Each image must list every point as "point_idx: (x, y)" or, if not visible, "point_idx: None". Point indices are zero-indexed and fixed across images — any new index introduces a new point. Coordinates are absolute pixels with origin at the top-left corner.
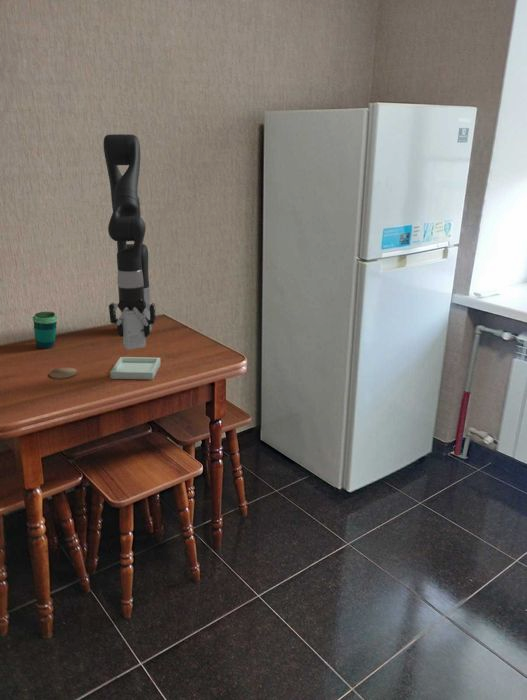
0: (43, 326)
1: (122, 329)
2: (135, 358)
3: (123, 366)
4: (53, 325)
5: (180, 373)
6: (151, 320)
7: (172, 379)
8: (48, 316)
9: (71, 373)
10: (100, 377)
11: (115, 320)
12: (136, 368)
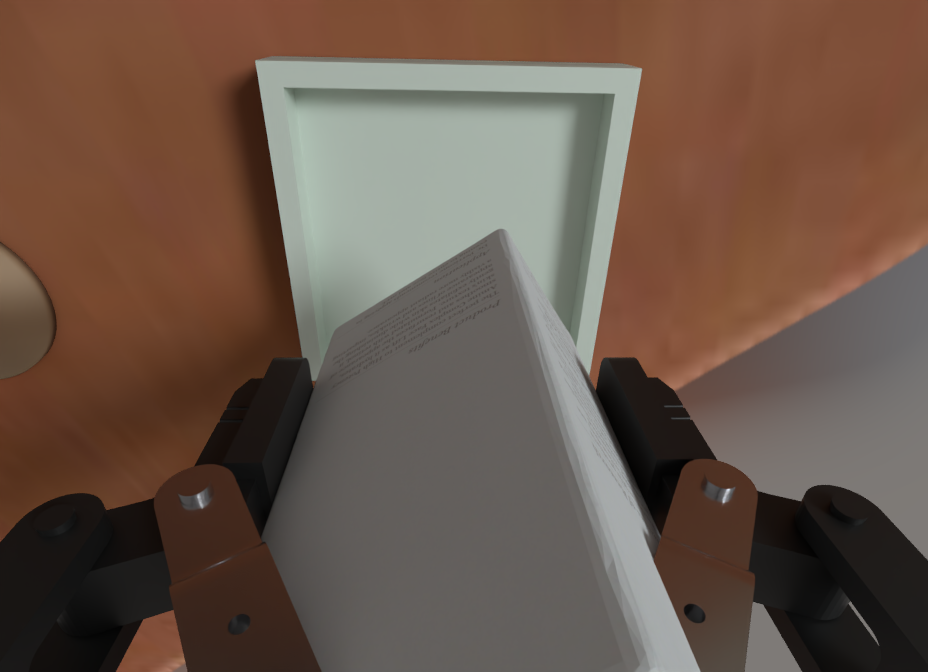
0: None
1: (292, 454)
2: (408, 89)
3: (337, 193)
4: None
5: (758, 257)
6: (802, 632)
7: (695, 349)
8: None
9: (22, 322)
10: (242, 339)
11: (144, 613)
12: (449, 231)
